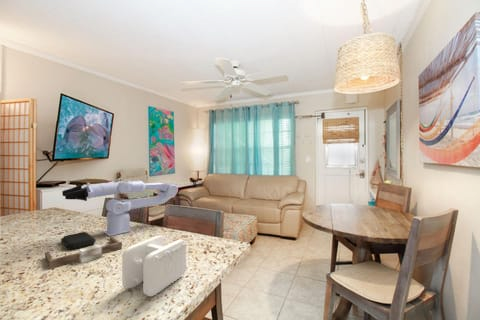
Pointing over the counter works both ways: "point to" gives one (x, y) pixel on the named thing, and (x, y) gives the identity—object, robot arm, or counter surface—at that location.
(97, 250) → the charging dock
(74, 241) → the black rounded slab
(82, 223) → the counter surface
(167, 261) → the cable organizer
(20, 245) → the counter surface
